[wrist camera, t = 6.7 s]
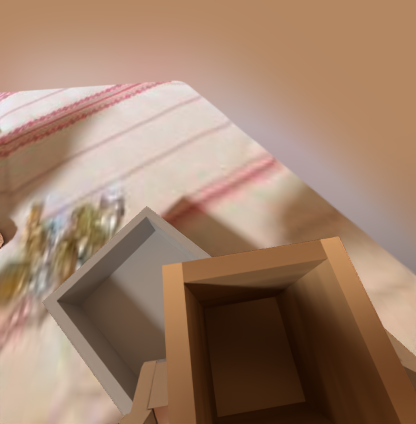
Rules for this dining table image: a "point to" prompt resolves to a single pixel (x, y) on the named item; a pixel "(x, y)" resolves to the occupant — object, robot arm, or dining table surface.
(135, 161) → the dining table surface
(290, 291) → the square wooden cup
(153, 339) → the grey crate
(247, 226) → the dining table surface
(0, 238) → the cookie jar
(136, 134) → the dining table surface
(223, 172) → the dining table surface
